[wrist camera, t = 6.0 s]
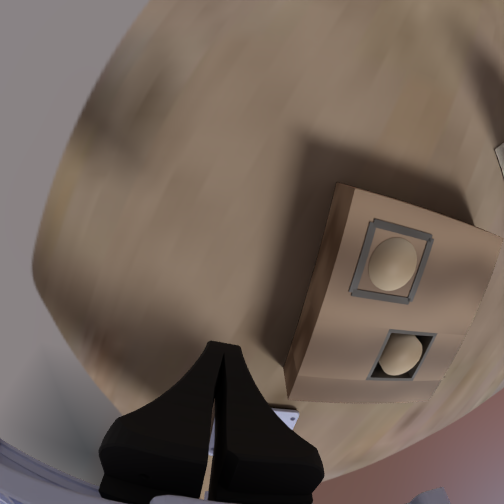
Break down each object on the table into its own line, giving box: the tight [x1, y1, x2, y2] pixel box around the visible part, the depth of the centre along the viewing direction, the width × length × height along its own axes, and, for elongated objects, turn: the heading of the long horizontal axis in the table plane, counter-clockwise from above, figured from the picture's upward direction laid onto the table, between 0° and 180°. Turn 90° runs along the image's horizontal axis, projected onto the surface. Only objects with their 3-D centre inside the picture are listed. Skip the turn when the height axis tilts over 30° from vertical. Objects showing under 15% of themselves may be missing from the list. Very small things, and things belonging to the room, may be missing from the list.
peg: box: [378, 333, 422, 375], centre depth 22 cm, size 4×4×4 cm
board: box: [283, 182, 504, 403], centre depth 21 cm, size 16×14×4 cm
